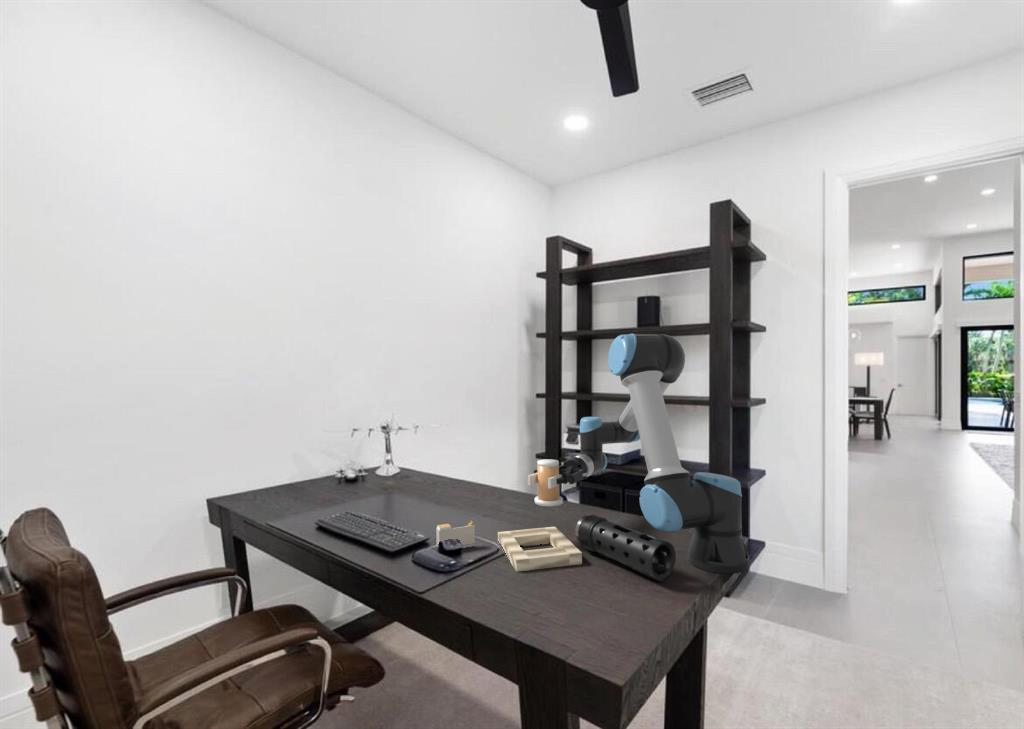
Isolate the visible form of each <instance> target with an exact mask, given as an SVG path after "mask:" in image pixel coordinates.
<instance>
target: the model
mask: <svg viewBox="0 0 1024 729" xmlns="http://www.w3.org/2000/svg"><path fill="white" fill-rule="evenodd" d="M474 523H475V521H473V519H470V520H469V521H468V522H467V524H466V525H465V526H460V527H459V526H458V527H452V526H451V525H450V524H449V523H443V524H437V526H436V528H435V529H436V533H435V534H436V536H435V538H436V546H437V545H438V544H439V542H440V541H442V540H448V539H458V540H460V542H461V543H462V544H463V545H465V544H472V543H475V544H476V531H475V530H476V528H475V527H476V525H475V524H474Z"/></svg>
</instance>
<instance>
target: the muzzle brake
mask: <svg viewBox="0 0 1024 729" xmlns="http://www.w3.org/2000/svg"><path fill="white" fill-rule="evenodd" d="M574 533H575V538H576V540H577V542H579V543H580V545H581V547H583V548H584V549H587V550H590V552H592V553H593V552H594V553H598V556H599V557H601V556H602V557H601V558H604V559H606V560H610V559H612V560H613V561H617V562H618V563H621V564H623V565H624V567H625V568H629V569H631V570H633V571H634V572H636V573H639V574H641V575H643V576H646V577H648V578H650V579H652V580H654V581H657V582H659V583H663V582H664V581H665V580H666V579H667V578H669V576H670V575H671V574H672V572H673V570H674V569H675V568H674V567H675V566H676V558H677V557H676V550H675V547H674V546H673V545H672V543H671V542H668V541H667V540H666V541H665V540H663V539H660V538H658V537H654V536H652V535H650V534H647V533H644V532H641V531H638V530H635V529H633V528H630V527H627V526H625V525H621V524H618V523H616V522H613V521H610V520H608V519H607V518H605V517H603V516H599V515H596V514H586V515H583V516H582V517H580V519H579V520H578V521H577V523H576V525H575V532H574ZM661 565H662V566H661Z"/></svg>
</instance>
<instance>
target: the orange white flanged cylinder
mask: <svg viewBox="0 0 1024 729" xmlns="http://www.w3.org/2000/svg"><path fill="white" fill-rule="evenodd" d="M536 466H537V469H536V470H538V483H537V495H536V496H535V497H534V504H535V505H538V506H542V507H557V506H558V507H559V506H561V505H562V504H564V497H562V496H561V495H560V485H558V486H556V487H553V488H548V479H549V478H551V477H554V476H557V475H559V466H560V462H559V460H558V459H551V458H550V459H547V458H545V459H538V460H537V465H536Z"/></svg>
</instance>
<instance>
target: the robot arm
mask: <svg viewBox="0 0 1024 729" xmlns="http://www.w3.org/2000/svg"><path fill="white" fill-rule="evenodd" d="M607 357H608V358H607V362H608V363H607V364H608V368H609V371H610V373H612V375H614V376H616V377H617V376H618V377H620V382H621V385H622V386H624V387H626V388H627V389H628V392H629V396H630V400H629V401H628V403H627V405H626V406H625V407H624V410H623V411H622V413H621V415H620V416H618V417H619V418H617V420H616V421H603V419H602V417H599V416H583V417H582V418H581V419H580V422H579V442H580V444H579V445H580V447H579V448H580V453H579V454H578V455H574V456H573V457H570V458H567V459H566V460H565V461H564V462H563V463H562V464H561V465H559V475H557V476H554V477H551V478H549V479H548V488H553V487H556V486H558V485H559V486H560V485H563V484H564V485H566V484H568V483H569V484H570V485H573V484H576V483H578V482H580V481H583V480H585V479H587V478H588V477H590V476H593V475H597V474H600V473H601V472H603V471H604V470H605V469H606V468H607V466H608V457H607V456H606V453H604V451H603V445H608V444H609V445H611V444H625V443H626V444H630V443H633V442H634V443H635V442H638V441H640V443H641V447H642V452H643V456H644V461H645V465H646V467H647V468H646V469H647V474H646V476H645V478H644V480H643V481H644V486H643V487H642V488H641V490H640V491H639V495H640V496H639V506H640V509H641V512H642V515H643V516H644V518H645V520H646V521H647V523H648V524H649V525H651V526H652V527H653V528H654V530H655V529H656V530H657V531H659V532H660V531H661V532H678V531H681V530H685V529H686V530H689V529H694V531H693V534H692V537H691V541H690V544H689V547H688V550H687V559H688V562H689V563H690V564H692V566H695V567H696V568H698V569H702V570H703V571H708V572H711V573H712V572H713V573H717V574H729V575H730V574H733V575H734V574H740V573H744V572H746V571H748V570H750V567H751V566H750V565H751V562H750V555H749V552H748V549H747V546H746V544H745V541H744V538H743V526H742V525H743V524H742V521H743V517H742V512H743V511H742V508H743V506H742V504H743V500H742V499H743V498H742V497H743V494H742V485H741V482H740V481H739V480H738V479H737V478H735V477H731V476H728V475H724V474H719V473H718V474H717V473H712V472H701V471H699V472H695V473H694V474H693V477H692V478H691V474H690V471H688V470H686V469H685V468H684V467H682V464H681V460H680V456H679V452H678V448H677V445H676V441H675V438H674V433H673V431H672V426H671V422H670V418H669V414H668V411H667V407H666V403H665V399H664V396H663V394H664V393H665V391H666V390H668V387H669V386H670V385H671V384H674V383H676V382H677V380H678V379H679V378H680V376H681V374H682V372H683V369H684V367H685V364H686V353H685V351H684V347H683V346H682V344H681V343H680V342H679V341H678V340H677V339H676V338H674V336H671V335H669V334H664V333H658V334H654V333H653V334H645V333H644V334H643V333H642V334H641V333H637V334H636V333H629V334H620V335H618V336H617V337H615V338H614V340H613V341H612V343H611V345H610V348H609V350H608V356H607ZM692 479H693V480H692ZM535 484H538V470H537V469H534V470H533V473H532V474H529V475H527V485H528V486H531V485H535Z"/></svg>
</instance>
